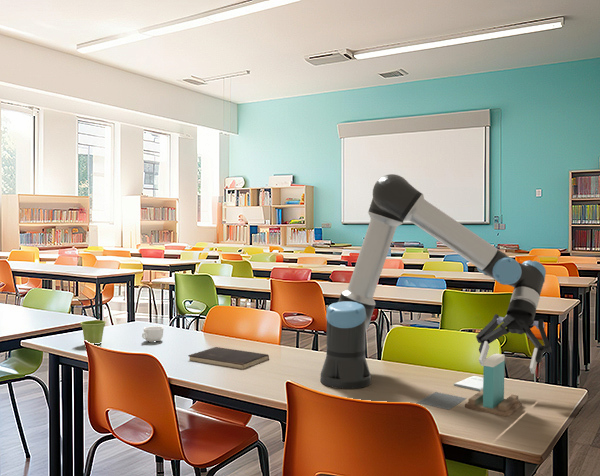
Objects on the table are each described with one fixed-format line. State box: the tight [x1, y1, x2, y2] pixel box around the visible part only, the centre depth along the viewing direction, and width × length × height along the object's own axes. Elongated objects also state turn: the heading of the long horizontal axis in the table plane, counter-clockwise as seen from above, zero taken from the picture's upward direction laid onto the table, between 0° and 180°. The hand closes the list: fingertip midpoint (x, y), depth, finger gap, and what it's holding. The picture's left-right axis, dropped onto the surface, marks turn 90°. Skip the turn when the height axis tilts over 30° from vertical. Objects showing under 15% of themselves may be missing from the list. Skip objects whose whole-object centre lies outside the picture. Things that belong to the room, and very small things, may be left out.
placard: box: [482, 353, 506, 409], centre depth 143 cm, size 9×2×12 cm, turn 143°
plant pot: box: [80, 319, 107, 344], centre depth 216 cm, size 9×9×9 cm
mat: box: [416, 391, 468, 410], centre depth 148 cm, size 12×9×1 cm
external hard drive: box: [453, 375, 483, 392], centre depth 164 cm, size 2×8×12 cm
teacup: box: [141, 325, 164, 343], centre depth 221 cm, size 10×8×5 cm
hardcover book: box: [187, 346, 270, 370], centre depth 193 cm, size 16×23×2 cm
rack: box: [464, 390, 523, 417], centre depth 144 cm, size 11×11×3 cm
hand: (505, 367), depth 151 cm, fingers open, 13 cm apart
